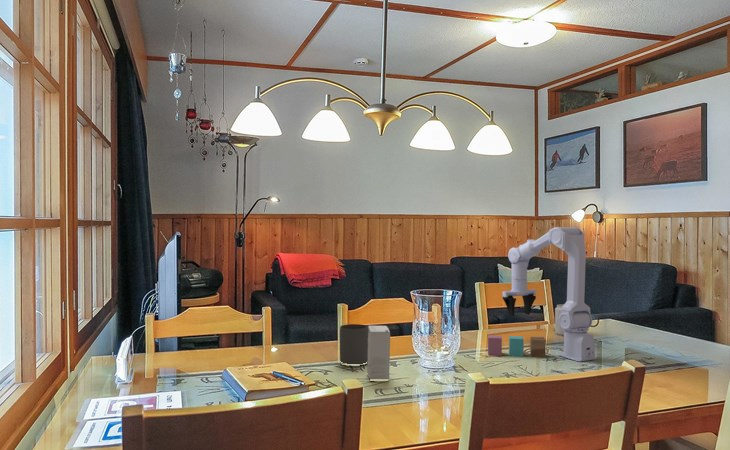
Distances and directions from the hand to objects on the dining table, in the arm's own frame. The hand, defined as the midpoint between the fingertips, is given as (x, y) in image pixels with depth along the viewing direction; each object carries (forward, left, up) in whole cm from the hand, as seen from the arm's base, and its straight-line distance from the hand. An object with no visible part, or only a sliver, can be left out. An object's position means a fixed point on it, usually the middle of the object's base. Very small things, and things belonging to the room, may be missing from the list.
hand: (519, 314), depth 214 cm
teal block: (-16, +15, -10) cm, 25 cm away
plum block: (-12, +21, -10) cm, 27 cm away
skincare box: (-22, +71, -10) cm, 75 cm away
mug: (-1, +70, -10) cm, 71 cm away
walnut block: (-21, +10, -10) cm, 25 cm away
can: (+2, -25, -10) cm, 27 cm away
